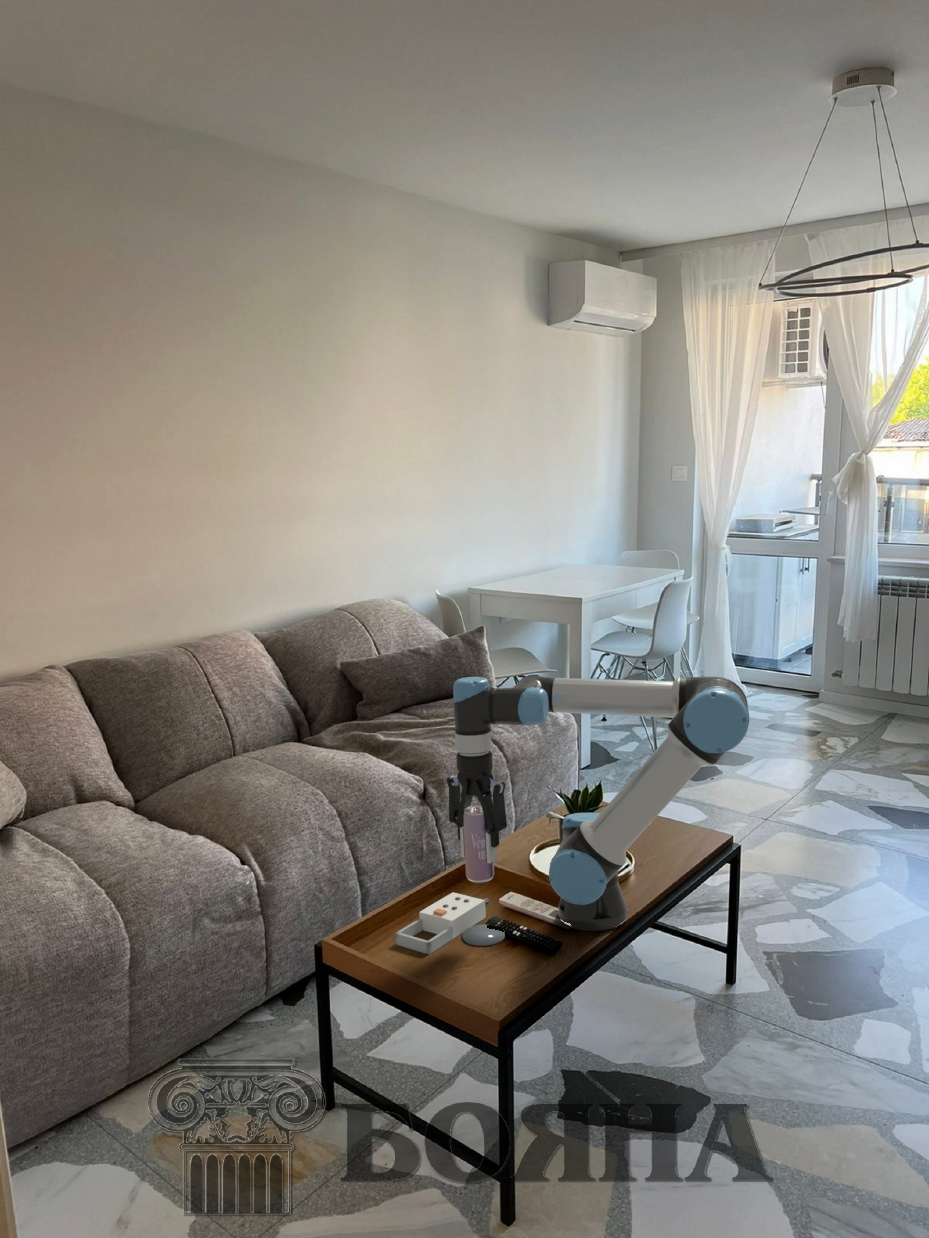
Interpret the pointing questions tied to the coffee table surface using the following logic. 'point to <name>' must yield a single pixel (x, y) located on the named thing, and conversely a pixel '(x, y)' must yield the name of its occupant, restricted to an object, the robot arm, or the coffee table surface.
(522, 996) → the coffee table surface
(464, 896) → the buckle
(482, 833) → the beverage can
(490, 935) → the coaster
